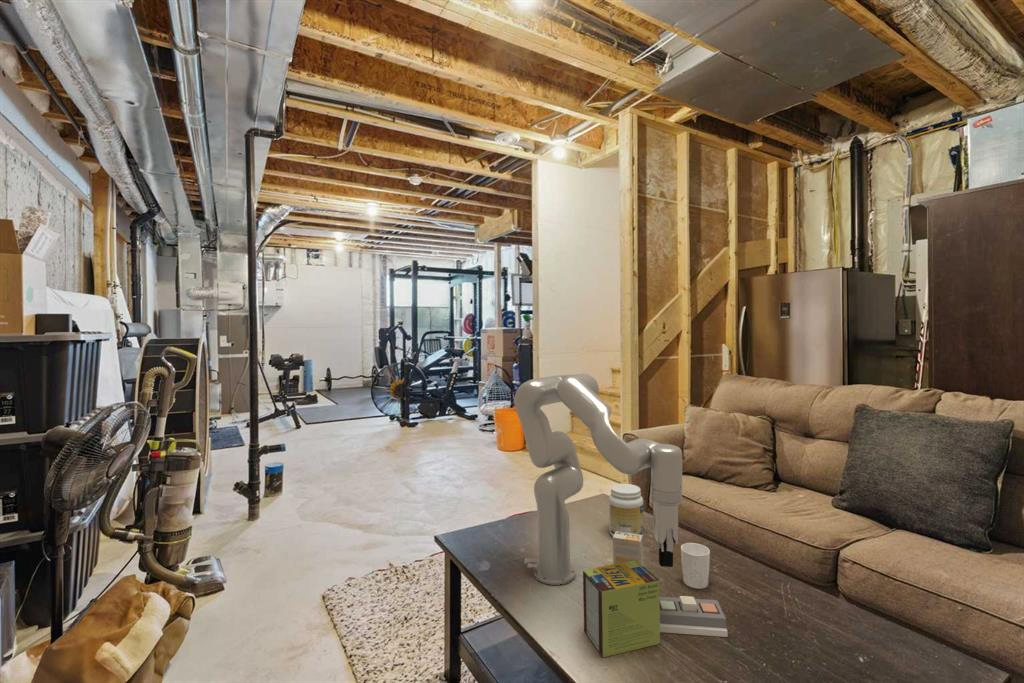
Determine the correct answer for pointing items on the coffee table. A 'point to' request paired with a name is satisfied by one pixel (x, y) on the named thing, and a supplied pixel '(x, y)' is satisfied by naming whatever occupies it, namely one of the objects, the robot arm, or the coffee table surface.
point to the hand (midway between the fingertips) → (665, 564)
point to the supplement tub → (626, 509)
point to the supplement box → (627, 547)
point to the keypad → (693, 620)
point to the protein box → (621, 607)
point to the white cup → (695, 565)
